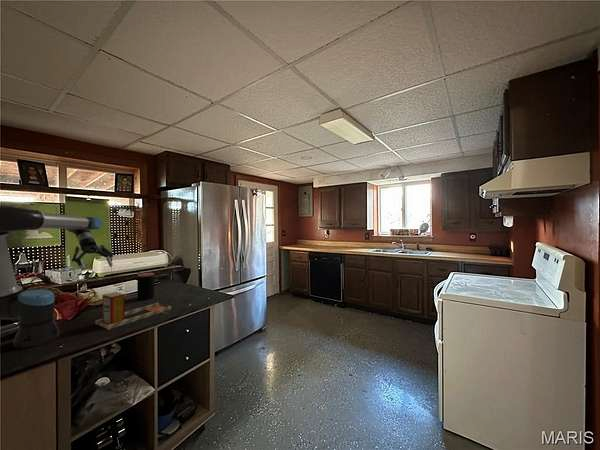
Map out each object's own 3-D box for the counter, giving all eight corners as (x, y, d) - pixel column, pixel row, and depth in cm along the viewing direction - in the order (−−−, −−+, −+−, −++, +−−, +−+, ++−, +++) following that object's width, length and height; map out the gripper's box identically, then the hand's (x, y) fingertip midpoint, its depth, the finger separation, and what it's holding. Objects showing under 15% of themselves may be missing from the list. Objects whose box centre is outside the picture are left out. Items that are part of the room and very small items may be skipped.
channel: (107, 329, 128) (107, 326, 128) (95, 324, 135) (95, 320, 135) (170, 309, 159) (170, 306, 159) (158, 305, 166) (158, 302, 166)
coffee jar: (149, 295, 189) (149, 272, 189) (157, 297, 184) (157, 273, 183) (134, 299, 180) (134, 274, 180) (142, 301, 174) (141, 276, 174)
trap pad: (155, 313, 152) (155, 312, 152) (145, 310, 157) (145, 309, 157) (169, 308, 160) (169, 308, 160) (159, 305, 165) (159, 305, 165)
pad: (107, 328, 130) (107, 328, 130) (97, 324, 135) (97, 323, 135) (130, 321, 139) (130, 320, 139) (120, 317, 144) (120, 317, 144)
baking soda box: (102, 322, 136) (102, 294, 136) (116, 318, 142) (115, 291, 142) (111, 326, 132) (111, 296, 132) (124, 321, 138) (124, 293, 137)
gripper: (108, 243, 165) (119, 267, 158) (58, 247, 143) (69, 275, 136) (111, 236, 163) (123, 260, 155) (61, 238, 141) (72, 266, 134)
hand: (98, 267), depth 146 cm, fingers open, 13 cm apart
